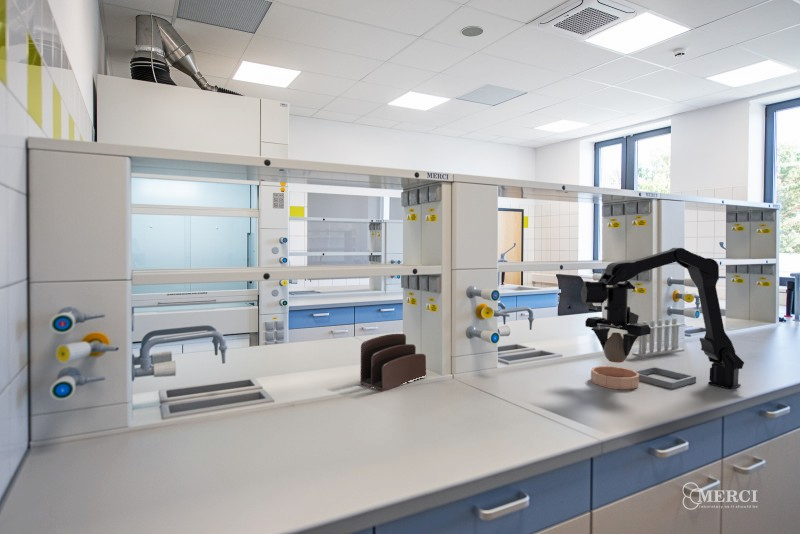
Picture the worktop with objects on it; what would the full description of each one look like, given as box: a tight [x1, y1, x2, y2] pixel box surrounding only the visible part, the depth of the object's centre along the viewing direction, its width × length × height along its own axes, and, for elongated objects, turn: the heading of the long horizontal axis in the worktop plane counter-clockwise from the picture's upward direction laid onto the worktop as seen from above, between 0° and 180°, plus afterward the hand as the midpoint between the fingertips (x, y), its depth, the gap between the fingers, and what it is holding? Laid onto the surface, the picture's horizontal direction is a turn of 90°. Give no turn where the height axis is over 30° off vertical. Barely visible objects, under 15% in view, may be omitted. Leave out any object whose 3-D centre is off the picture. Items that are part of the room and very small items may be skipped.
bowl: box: [590, 365, 640, 390], centre depth 149 cm, size 13×13×3 cm
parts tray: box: [634, 366, 697, 390], centre depth 152 cm, size 14×14×2 cm
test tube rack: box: [632, 317, 686, 358], centre depth 190 cm, size 25×4×13 cm, turn 116°
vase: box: [603, 332, 628, 364], centre depth 148 cm, size 7×7×9 cm
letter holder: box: [359, 333, 427, 392], centre depth 149 cm, size 10×20×14 cm, turn 137°
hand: (615, 353), depth 148 cm, fingers closed on vase, 7 cm apart
